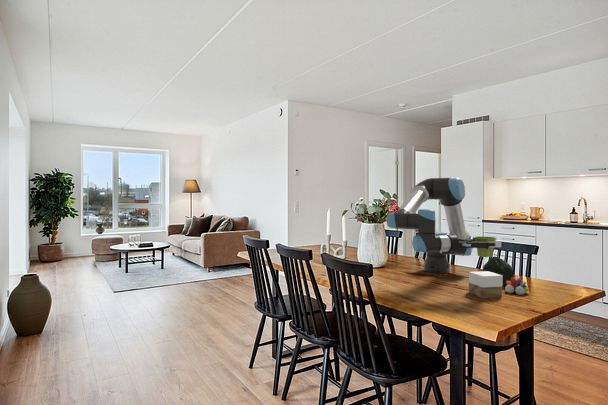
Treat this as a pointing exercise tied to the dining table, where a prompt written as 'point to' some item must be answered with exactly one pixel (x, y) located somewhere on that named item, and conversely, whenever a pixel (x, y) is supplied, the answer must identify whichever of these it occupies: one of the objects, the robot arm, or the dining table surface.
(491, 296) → the walnut base block
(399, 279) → the dining table surface
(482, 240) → the plant pot
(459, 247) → the robot arm
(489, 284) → the pale top block
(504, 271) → the squash
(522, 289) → the rainbow petal cluster
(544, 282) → the dining table surface
